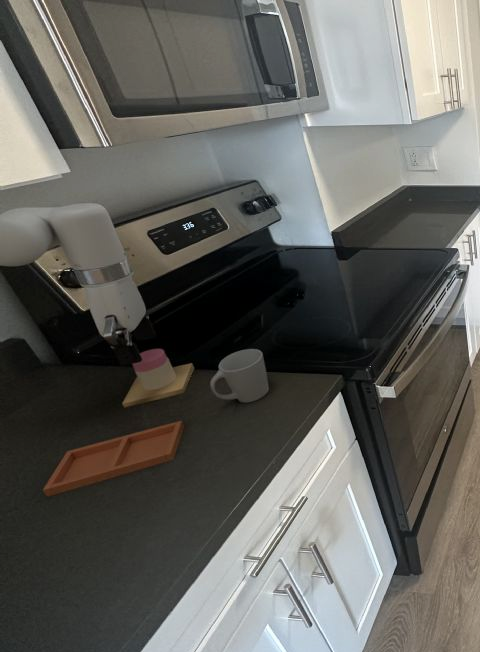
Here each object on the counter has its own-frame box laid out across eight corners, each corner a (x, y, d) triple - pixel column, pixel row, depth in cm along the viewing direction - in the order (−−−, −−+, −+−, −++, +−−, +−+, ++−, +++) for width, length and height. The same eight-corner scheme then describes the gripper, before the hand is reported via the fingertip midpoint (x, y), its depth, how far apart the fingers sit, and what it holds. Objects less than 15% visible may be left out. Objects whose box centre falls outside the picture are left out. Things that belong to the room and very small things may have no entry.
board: (125, 409, 85) (121, 403, 84) (140, 381, 93) (137, 375, 92) (185, 394, 88) (182, 388, 88) (194, 368, 96) (192, 362, 96)
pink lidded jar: (139, 393, 87) (126, 367, 84) (147, 378, 91) (135, 352, 88) (172, 385, 89) (160, 359, 86) (178, 370, 93) (167, 345, 90)
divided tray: (48, 498, 66) (42, 490, 66) (72, 459, 73) (67, 451, 73) (174, 461, 72) (170, 453, 71) (185, 428, 79) (181, 420, 79)
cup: (281, 390, 88) (269, 356, 85) (230, 419, 81) (215, 383, 77) (262, 377, 92) (251, 344, 89) (212, 404, 85) (197, 369, 81)
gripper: (96, 260, 85) (130, 334, 92) (56, 294, 70) (100, 379, 78) (143, 254, 87) (172, 326, 95) (113, 286, 73) (150, 368, 80)
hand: (139, 350), depth 86 cm, fingers open, 9 cm apart
